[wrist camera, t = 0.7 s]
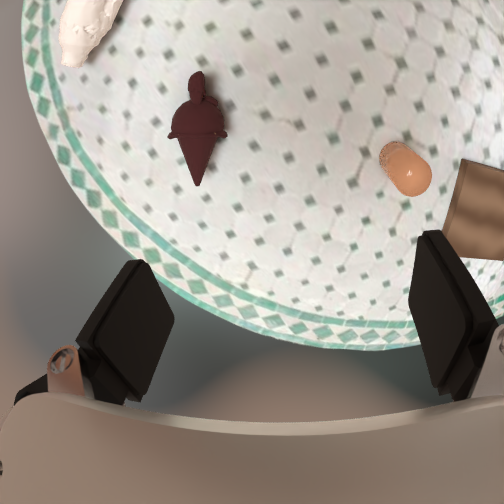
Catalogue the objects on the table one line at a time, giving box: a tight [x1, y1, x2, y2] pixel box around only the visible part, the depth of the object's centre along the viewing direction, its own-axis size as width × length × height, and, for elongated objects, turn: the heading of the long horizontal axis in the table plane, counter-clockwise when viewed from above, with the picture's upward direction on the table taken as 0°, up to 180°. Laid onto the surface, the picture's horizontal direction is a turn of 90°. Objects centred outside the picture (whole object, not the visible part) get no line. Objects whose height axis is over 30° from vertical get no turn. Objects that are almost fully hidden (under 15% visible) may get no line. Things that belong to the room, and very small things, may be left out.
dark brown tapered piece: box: [168, 71, 227, 186], centre depth 34 cm, size 7×7×15 cm
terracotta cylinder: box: [379, 142, 432, 197], centre depth 32 cm, size 5×5×7 cm
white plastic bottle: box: [59, 0, 123, 68], centre depth 23 cm, size 8×19×8 cm, turn 153°
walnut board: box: [442, 159, 504, 261], centre depth 36 cm, size 16×16×2 cm
